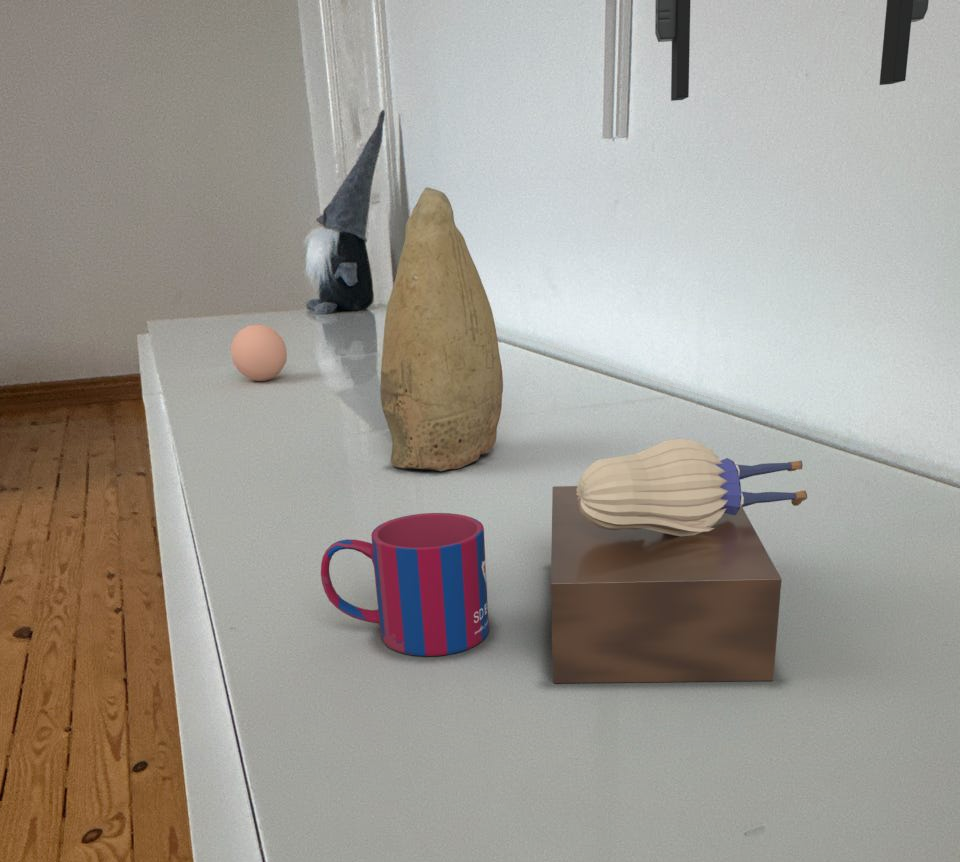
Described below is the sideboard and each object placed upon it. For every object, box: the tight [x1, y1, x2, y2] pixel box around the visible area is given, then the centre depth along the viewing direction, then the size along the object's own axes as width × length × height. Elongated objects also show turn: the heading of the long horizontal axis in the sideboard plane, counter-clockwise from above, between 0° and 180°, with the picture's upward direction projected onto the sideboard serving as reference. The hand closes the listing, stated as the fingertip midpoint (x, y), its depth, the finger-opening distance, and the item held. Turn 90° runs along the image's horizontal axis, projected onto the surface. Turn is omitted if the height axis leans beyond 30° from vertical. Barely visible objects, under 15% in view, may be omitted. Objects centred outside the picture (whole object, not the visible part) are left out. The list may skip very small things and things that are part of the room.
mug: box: [320, 512, 490, 657], centre depth 61 cm, size 7×10×7 cm
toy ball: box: [230, 324, 288, 382], centre depth 145 cm, size 8×8×8 cm
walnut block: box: [550, 485, 782, 684], centre depth 62 cm, size 12×18×6 cm, turn 176°
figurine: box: [576, 438, 808, 536], centre depth 60 cm, size 6×4×15 cm
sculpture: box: [379, 187, 504, 472], centre depth 95 cm, size 12×11×25 cm
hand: (785, 91), depth 65 cm, fingers open, 13 cm apart
